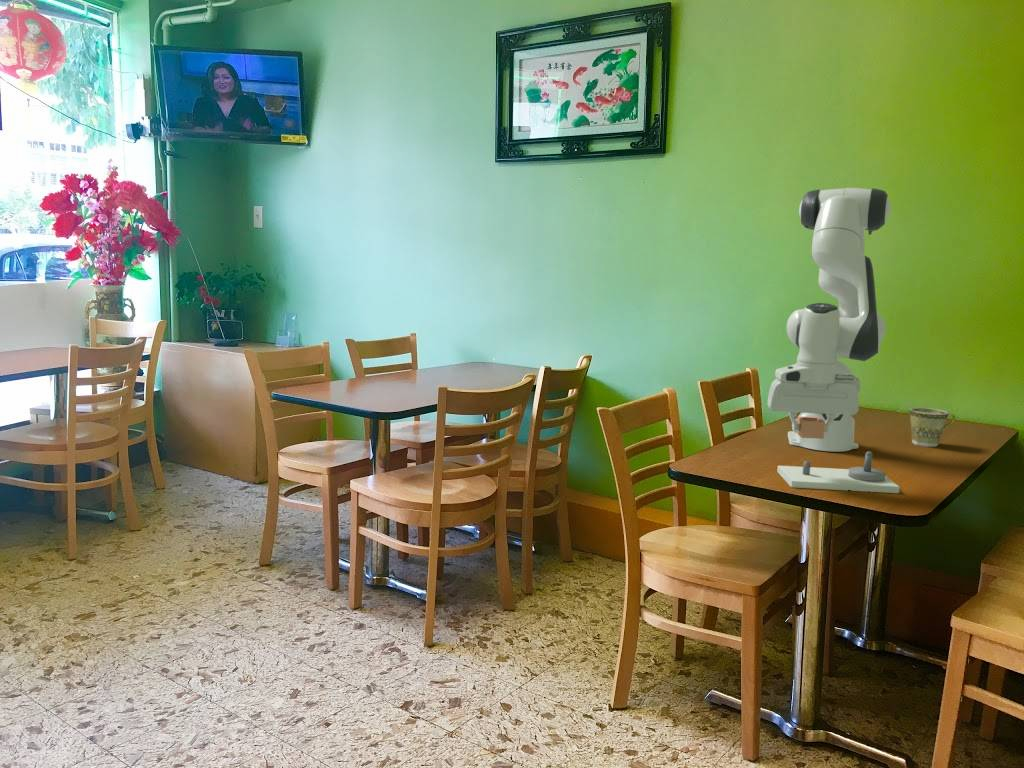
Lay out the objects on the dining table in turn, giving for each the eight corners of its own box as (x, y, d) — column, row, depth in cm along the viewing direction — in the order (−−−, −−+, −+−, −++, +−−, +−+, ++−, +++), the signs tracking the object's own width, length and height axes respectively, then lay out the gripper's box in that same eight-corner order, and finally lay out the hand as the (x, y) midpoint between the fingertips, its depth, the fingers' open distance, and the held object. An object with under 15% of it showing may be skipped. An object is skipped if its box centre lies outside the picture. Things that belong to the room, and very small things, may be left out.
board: (777, 471, 201) (779, 440, 200) (877, 476, 199) (880, 445, 198) (791, 487, 187) (794, 454, 186) (898, 493, 185) (902, 460, 184)
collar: (796, 432, 195) (797, 416, 194) (817, 433, 195) (819, 417, 194) (801, 437, 190) (803, 421, 189) (823, 438, 190) (825, 422, 189)
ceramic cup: (917, 448, 232) (921, 413, 230) (899, 440, 242) (903, 407, 240) (961, 449, 233) (965, 414, 231) (941, 441, 242) (945, 408, 241)
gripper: (856, 373, 192) (850, 430, 194) (768, 369, 194) (763, 426, 196) (865, 377, 186) (859, 436, 188) (774, 373, 187) (769, 432, 190)
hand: (809, 431), depth 192 cm, fingers closed on collar, 5 cm apart
